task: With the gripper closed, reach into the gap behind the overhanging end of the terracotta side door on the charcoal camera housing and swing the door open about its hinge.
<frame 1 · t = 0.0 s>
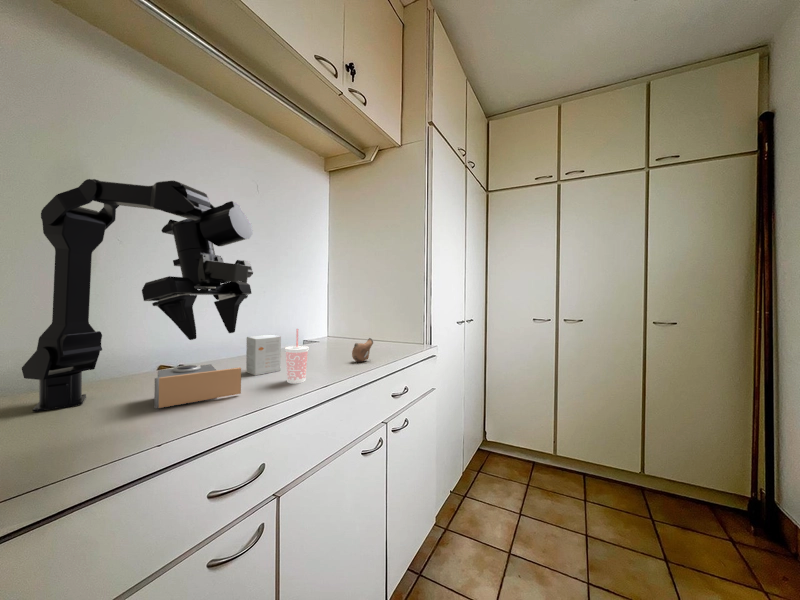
hand: (214, 335, 55), 15 cm above the worktop, tool pointing down, fingers open, 9 cm apart
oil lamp: (363, 361, 107), on the worktop
small box: (263, 372, 90), on the worktop
camera housing: (187, 397, 67), on the worktop
side door: (200, 386, 64), point 3 cm above the worktop, hinge at 0.0°
beverage cup: (296, 381, 82), on the worktop
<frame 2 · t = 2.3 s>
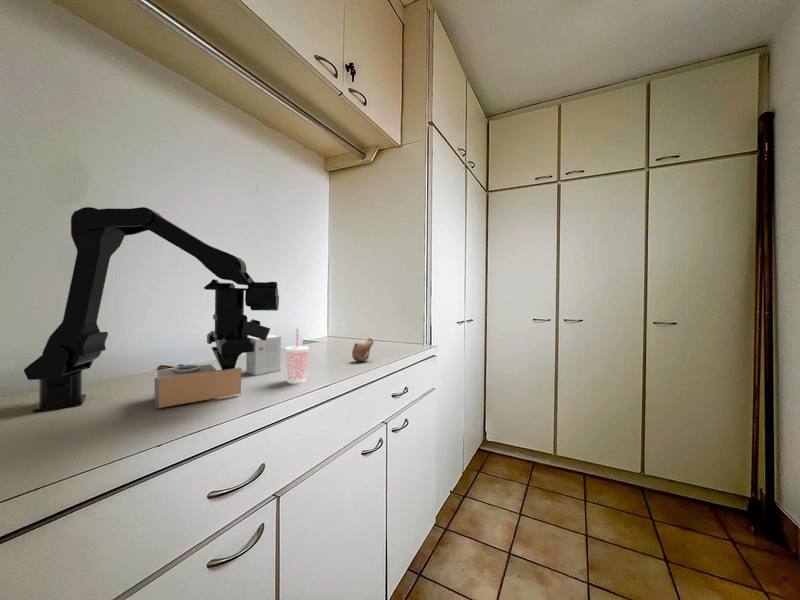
hand: (228, 378, 69), 4 cm above the worktop, tool pointing down, fingers closed
side door: (200, 386, 64), point 3 cm above the worktop, hinge at 0.0°, touching gripper
everything else where it was.
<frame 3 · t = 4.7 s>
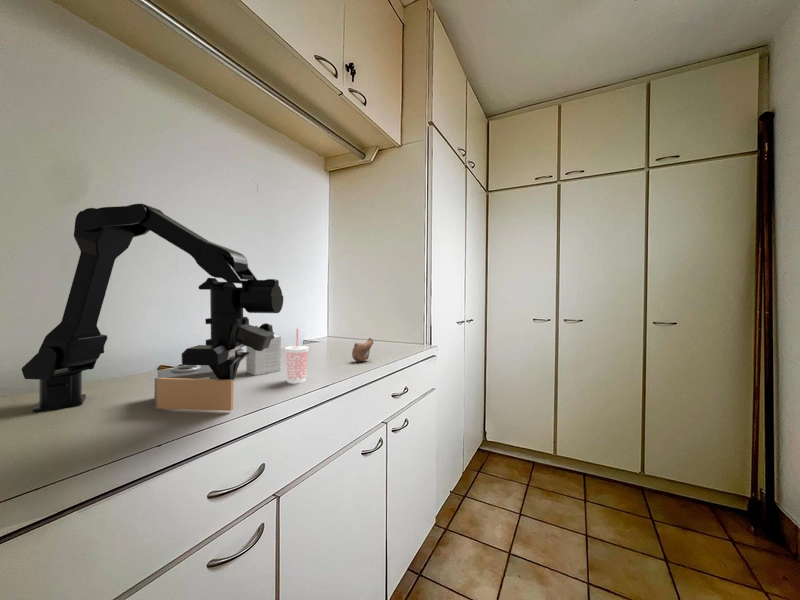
hand: (227, 389, 61), 4 cm above the worktop, tool pointing down, fingers closed
side door: (193, 393, 60), point 3 cm above the worktop, hinge at 41.4°, touching gripper
everything else where it was.
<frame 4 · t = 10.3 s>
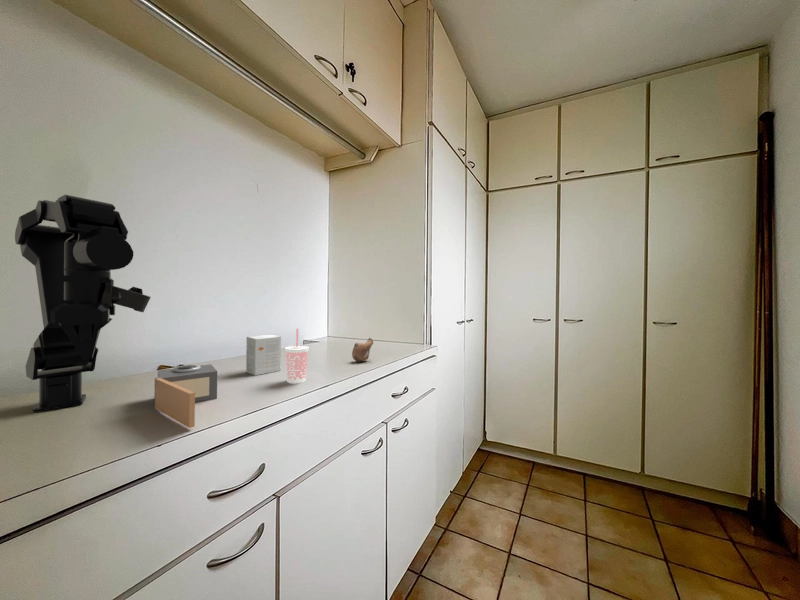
hand: (87, 359, 54), 11 cm above the worktop, tool pointing down, fingers closed
side door: (173, 400, 56), point 3 cm above the worktop, hinge at 73.7°
everything else where it was.
at the end: side door at +74° (first picture: +0°) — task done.
